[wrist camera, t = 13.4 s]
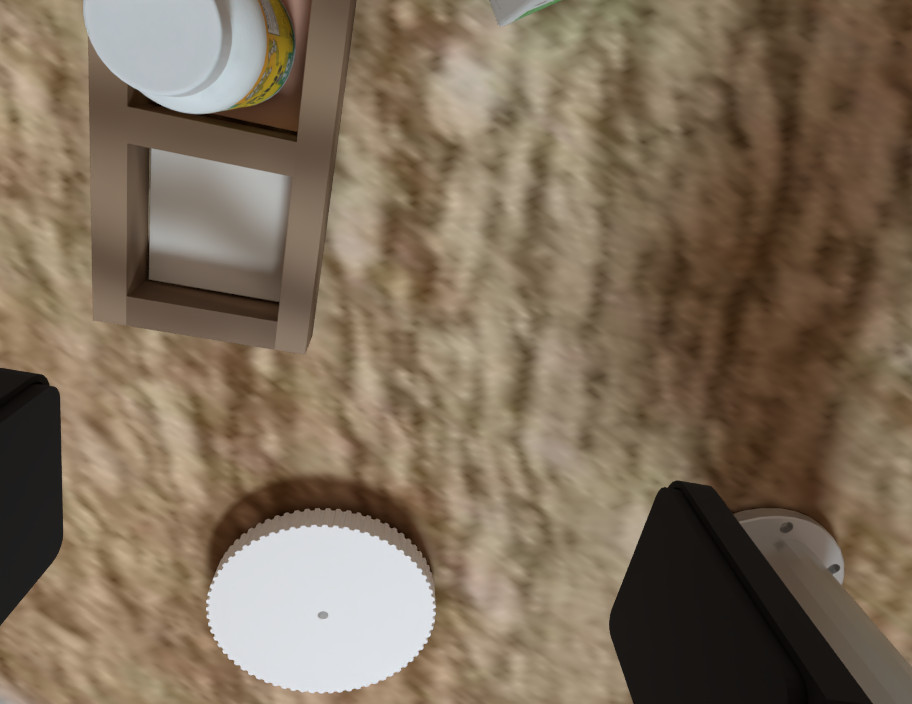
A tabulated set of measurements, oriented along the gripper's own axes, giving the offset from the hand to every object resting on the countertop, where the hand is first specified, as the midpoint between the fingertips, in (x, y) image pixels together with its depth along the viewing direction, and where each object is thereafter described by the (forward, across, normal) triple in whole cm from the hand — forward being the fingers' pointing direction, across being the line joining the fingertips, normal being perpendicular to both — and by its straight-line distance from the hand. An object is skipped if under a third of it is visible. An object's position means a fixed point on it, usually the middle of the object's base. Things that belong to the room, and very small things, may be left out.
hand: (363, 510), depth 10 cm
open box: (+23, +9, -3) cm, 25 cm away
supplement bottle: (+23, +9, -7) cm, 25 cm away
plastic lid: (+24, +1, +24) cm, 34 cm away
